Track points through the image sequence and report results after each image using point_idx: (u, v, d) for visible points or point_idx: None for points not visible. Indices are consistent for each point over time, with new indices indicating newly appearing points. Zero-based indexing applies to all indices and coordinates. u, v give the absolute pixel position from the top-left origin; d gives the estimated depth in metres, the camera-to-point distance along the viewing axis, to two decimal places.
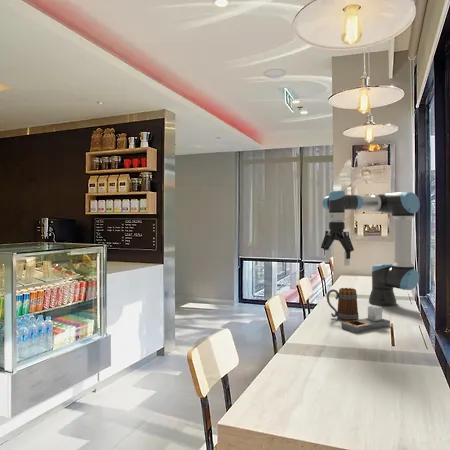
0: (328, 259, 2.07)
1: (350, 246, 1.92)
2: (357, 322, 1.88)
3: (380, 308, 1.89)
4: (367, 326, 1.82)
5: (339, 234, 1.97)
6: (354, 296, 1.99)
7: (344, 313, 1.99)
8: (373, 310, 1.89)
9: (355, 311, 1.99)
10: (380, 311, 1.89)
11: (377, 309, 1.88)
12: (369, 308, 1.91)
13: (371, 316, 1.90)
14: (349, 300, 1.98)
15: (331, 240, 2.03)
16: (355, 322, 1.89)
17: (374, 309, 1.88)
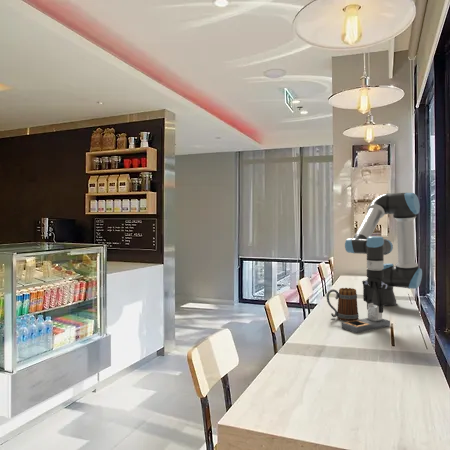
0: None
1: (384, 300, 1.85)
2: (357, 322, 1.88)
3: None
4: (367, 326, 1.82)
5: (378, 283, 1.87)
6: (354, 296, 1.99)
7: (344, 313, 1.99)
8: (373, 310, 1.89)
9: (355, 311, 1.99)
10: None
11: None
12: (369, 308, 1.91)
13: (371, 316, 1.90)
14: (349, 300, 1.98)
15: (371, 290, 1.91)
16: (355, 322, 1.89)
17: (374, 309, 1.88)
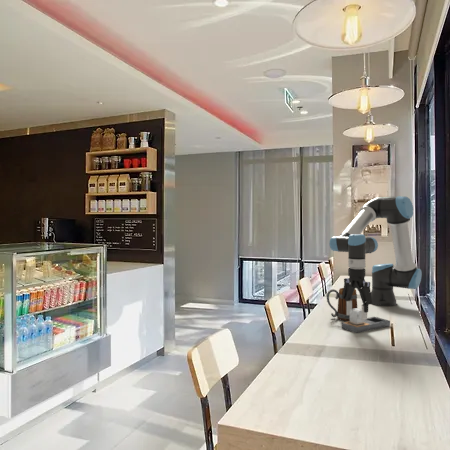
0: None
1: (369, 299, 1.78)
2: None
3: None
4: (367, 326, 1.82)
5: (359, 282, 1.81)
6: (354, 296, 1.99)
7: (344, 313, 1.99)
8: (355, 313, 1.83)
9: None
10: None
11: (358, 312, 1.82)
12: (351, 311, 1.85)
13: (352, 319, 1.84)
14: None
15: (352, 288, 1.86)
16: None
17: (356, 312, 1.82)
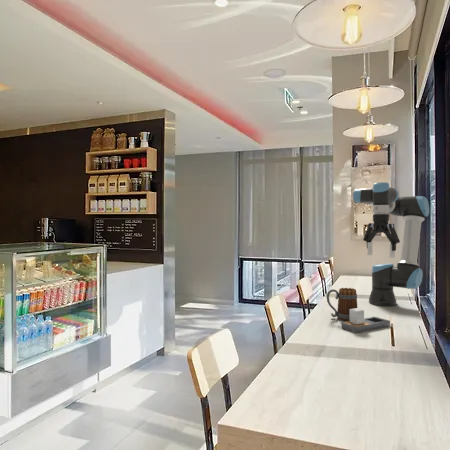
0: (371, 252, 2.06)
1: (396, 238, 1.92)
2: None
3: (362, 311, 1.83)
4: (367, 326, 1.82)
5: (384, 226, 1.97)
6: (354, 296, 1.99)
7: (344, 313, 1.99)
8: (355, 313, 1.83)
9: None
10: (362, 315, 1.84)
11: (358, 312, 1.82)
12: (351, 311, 1.85)
13: (352, 319, 1.84)
14: (349, 300, 1.98)
15: (375, 232, 2.03)
16: None
17: (356, 312, 1.82)
